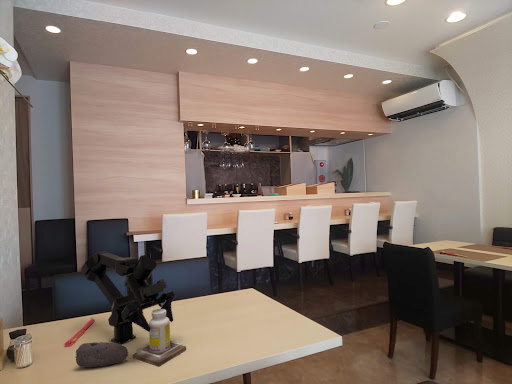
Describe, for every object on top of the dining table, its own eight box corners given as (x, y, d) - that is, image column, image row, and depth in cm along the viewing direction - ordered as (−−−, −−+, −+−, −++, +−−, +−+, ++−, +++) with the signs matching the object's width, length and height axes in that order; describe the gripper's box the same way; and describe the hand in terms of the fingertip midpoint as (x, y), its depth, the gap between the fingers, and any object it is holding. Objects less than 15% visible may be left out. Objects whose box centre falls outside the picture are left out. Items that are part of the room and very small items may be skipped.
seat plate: (132, 357, 104) (132, 351, 105) (160, 343, 115) (160, 336, 115) (159, 366, 98) (159, 359, 99) (186, 349, 109) (185, 343, 109)
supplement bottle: (167, 343, 111) (166, 306, 112) (172, 351, 106) (171, 312, 106) (147, 348, 108) (146, 310, 109) (151, 356, 102) (150, 316, 103)
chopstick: (60, 350, 114) (73, 345, 114) (58, 345, 114) (71, 340, 114) (87, 324, 138) (98, 320, 138) (85, 320, 138) (96, 316, 138)
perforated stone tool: (130, 358, 104) (130, 336, 105) (126, 366, 99) (125, 343, 99) (81, 363, 102) (81, 341, 102) (74, 371, 97) (74, 348, 97)
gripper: (125, 279, 102) (148, 321, 95) (171, 268, 117) (193, 303, 111) (112, 300, 106) (132, 341, 100) (158, 287, 122) (178, 321, 115)
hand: (161, 325), depth 106 cm, fingers open, 9 cm apart
